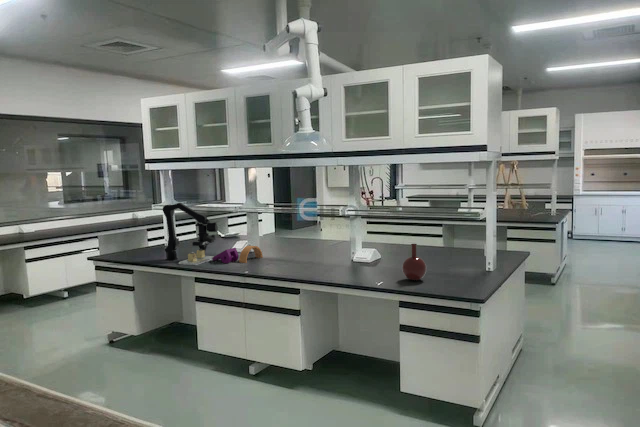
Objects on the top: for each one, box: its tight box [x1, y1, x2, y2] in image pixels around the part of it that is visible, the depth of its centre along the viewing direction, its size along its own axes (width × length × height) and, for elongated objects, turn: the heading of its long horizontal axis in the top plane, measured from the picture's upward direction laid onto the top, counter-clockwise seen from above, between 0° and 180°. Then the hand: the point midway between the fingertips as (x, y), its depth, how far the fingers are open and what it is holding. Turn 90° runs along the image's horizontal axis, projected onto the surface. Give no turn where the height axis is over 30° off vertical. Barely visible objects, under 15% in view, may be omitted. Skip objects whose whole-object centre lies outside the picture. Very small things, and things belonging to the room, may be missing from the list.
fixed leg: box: [187, 251, 197, 262], centre depth 325 cm, size 4×4×6 cm
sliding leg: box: [196, 248, 206, 258], centre depth 335 cm, size 4×4×6 cm
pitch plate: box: [178, 255, 214, 266], centre depth 331 cm, size 14×24×2 cm, turn 160°
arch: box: [238, 245, 263, 264], centre depth 330 cm, size 6×20×10 cm, turn 152°
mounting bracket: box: [211, 247, 240, 264], centre depth 328 cm, size 9×8×18 cm
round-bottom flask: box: [401, 243, 427, 281], centre depth 258 cm, size 13×13×20 cm
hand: (203, 253), depth 338 cm, fingers closed
